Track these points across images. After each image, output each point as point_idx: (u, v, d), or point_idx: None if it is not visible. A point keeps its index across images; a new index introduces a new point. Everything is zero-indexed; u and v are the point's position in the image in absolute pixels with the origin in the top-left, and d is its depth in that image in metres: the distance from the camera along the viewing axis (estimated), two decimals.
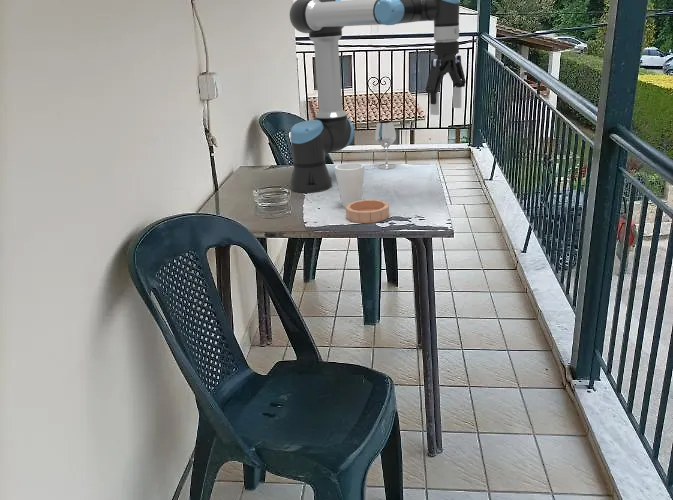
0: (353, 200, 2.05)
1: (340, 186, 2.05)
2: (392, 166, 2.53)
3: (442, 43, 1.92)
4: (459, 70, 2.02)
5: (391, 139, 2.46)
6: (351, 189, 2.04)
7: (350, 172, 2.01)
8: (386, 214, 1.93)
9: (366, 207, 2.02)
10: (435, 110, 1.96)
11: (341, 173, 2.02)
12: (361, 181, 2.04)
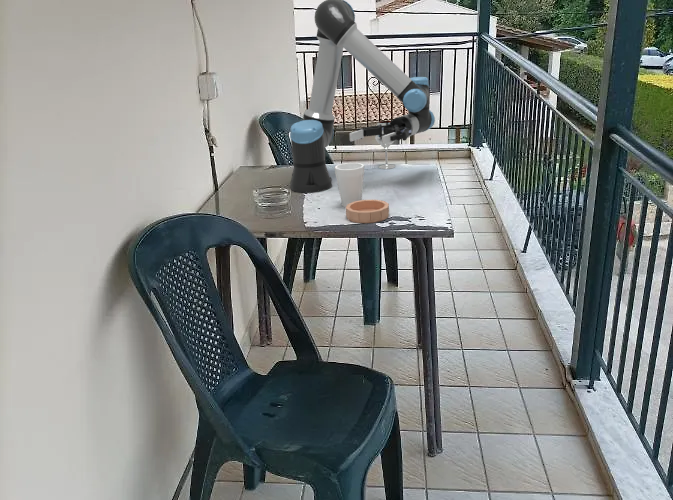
0: (353, 200, 2.05)
1: (340, 186, 2.05)
2: (392, 166, 2.53)
3: None
4: None
5: None
6: (351, 189, 2.04)
7: (350, 172, 2.01)
8: (386, 214, 1.93)
9: (366, 207, 2.02)
10: (386, 141, 2.06)
11: (341, 173, 2.02)
12: (361, 181, 2.04)
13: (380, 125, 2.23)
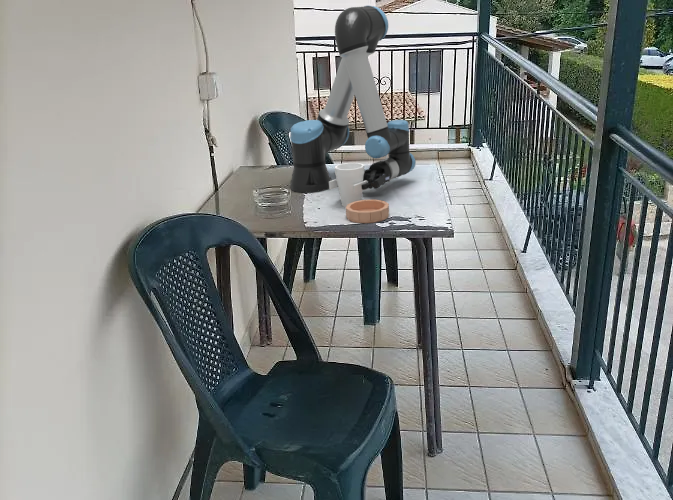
0: (353, 200, 2.05)
1: (340, 186, 2.05)
2: None
3: None
4: None
5: None
6: (351, 189, 2.04)
7: (350, 172, 2.01)
8: (386, 214, 1.93)
9: (366, 207, 2.02)
10: (357, 190, 2.02)
11: (341, 173, 2.02)
12: (361, 181, 2.04)
13: None
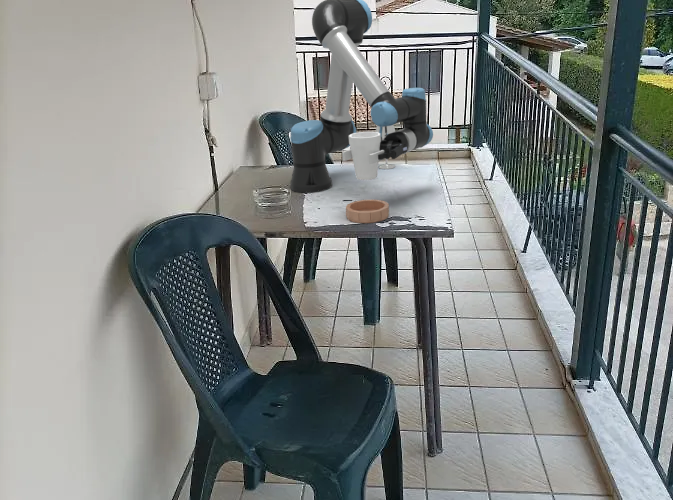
0: (369, 172, 1.89)
1: (355, 156, 1.89)
2: (392, 166, 2.53)
3: None
4: None
5: None
6: (367, 159, 1.87)
7: (366, 140, 1.85)
8: (386, 214, 1.93)
9: (366, 207, 2.02)
10: (374, 160, 1.86)
11: (356, 142, 1.86)
12: (377, 151, 1.88)
13: None
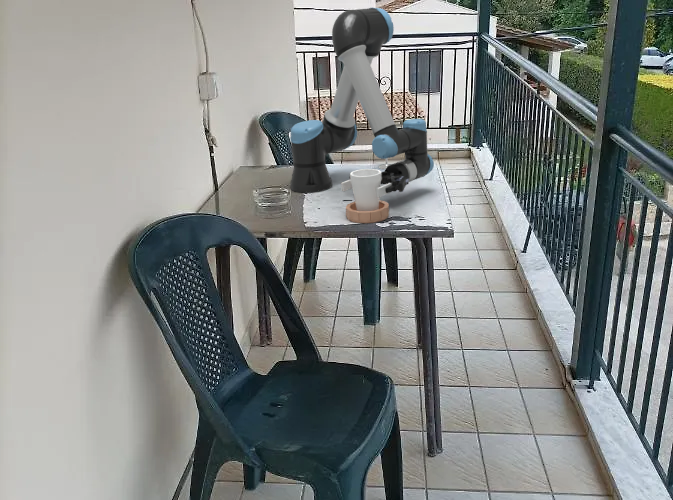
0: (370, 209, 1.93)
1: (356, 194, 1.92)
2: None
3: None
4: None
5: None
6: (367, 197, 1.91)
7: (367, 179, 1.88)
8: (386, 214, 1.93)
9: None
10: (381, 193, 1.88)
11: (357, 180, 1.89)
12: None
13: None
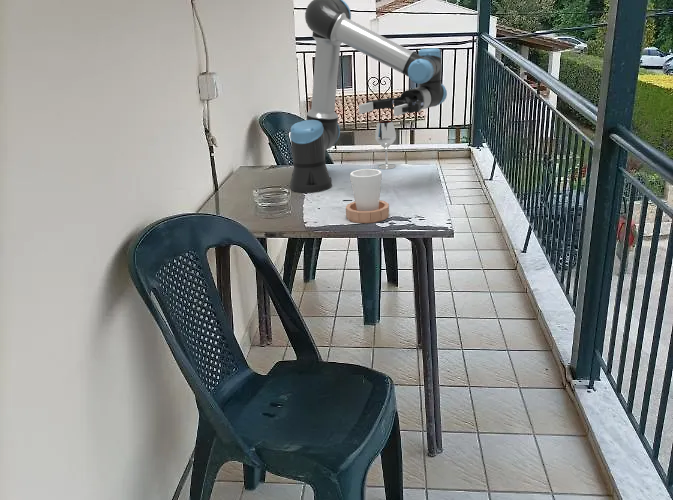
0: (370, 209, 1.93)
1: (356, 194, 1.92)
2: (392, 166, 2.53)
3: None
4: None
5: (391, 139, 2.46)
6: (368, 197, 1.91)
7: (367, 179, 1.88)
8: (386, 214, 1.93)
9: None
10: (398, 112, 1.96)
11: (357, 180, 1.89)
12: (378, 189, 1.92)
13: (390, 98, 2.13)
